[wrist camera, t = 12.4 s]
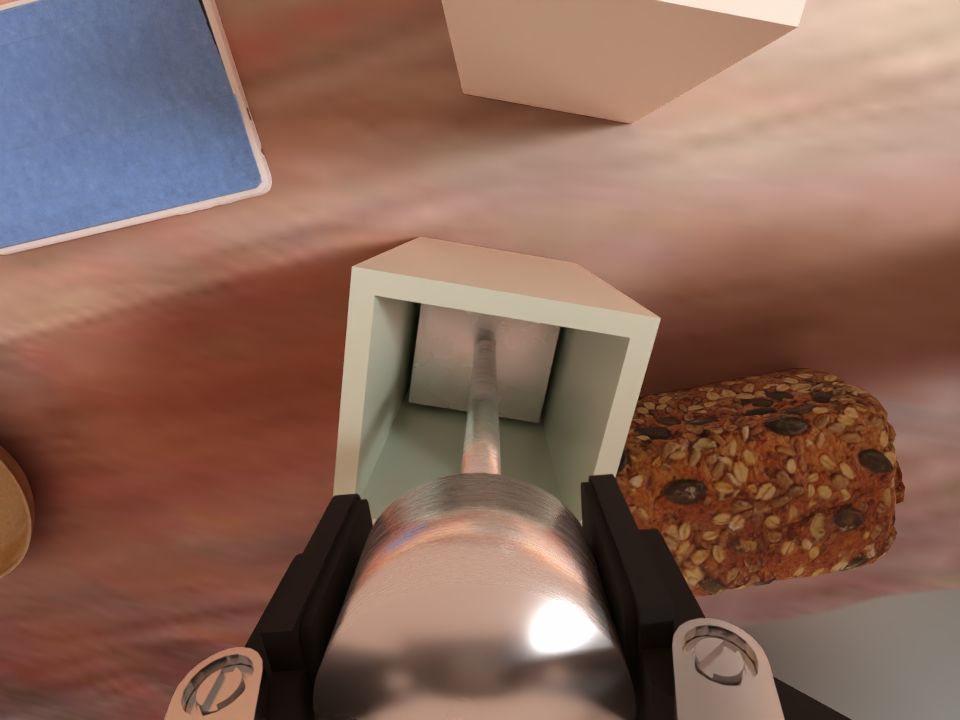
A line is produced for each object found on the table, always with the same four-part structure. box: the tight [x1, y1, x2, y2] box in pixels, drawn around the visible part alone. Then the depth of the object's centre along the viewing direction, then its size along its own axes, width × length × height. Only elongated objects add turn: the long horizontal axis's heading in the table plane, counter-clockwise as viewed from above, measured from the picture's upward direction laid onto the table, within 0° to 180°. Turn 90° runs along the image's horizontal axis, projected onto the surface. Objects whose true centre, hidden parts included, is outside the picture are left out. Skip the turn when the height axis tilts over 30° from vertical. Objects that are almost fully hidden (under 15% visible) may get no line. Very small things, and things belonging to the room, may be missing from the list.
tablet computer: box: [0, 0, 272, 255], centre depth 29 cm, size 19×13×1 cm, turn 102°
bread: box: [615, 368, 905, 597], centre depth 30 cm, size 19×11×10 cm, turn 102°
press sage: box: [333, 236, 661, 525], centre depth 24 cm, size 10×10×16 cm
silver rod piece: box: [313, 303, 636, 720], centre depth 17 cm, size 8×8×21 cm
